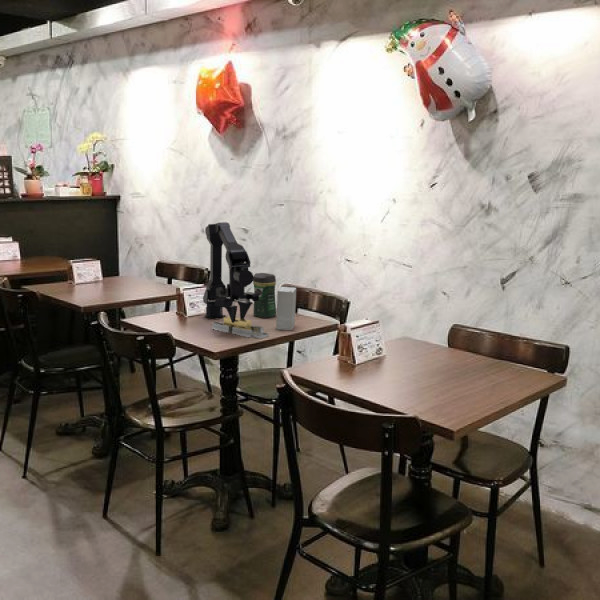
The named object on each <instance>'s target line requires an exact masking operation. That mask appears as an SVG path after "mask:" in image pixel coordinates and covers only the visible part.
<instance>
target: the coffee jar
mask: <svg viewBox="0 0 600 600" xmlns="http://www.w3.org/2000/svg"><path fill="white" fill-rule="evenodd" d="M253 277H254V278H253V281H252V284H253V291H254V292H253V293H257V294H258V295H259V301H253V316H254V317H258V318H264V319H265V318H266V319H267V318H269V319H272V318H273V317H275V316H277V303H276V284H277V281H276V275H275V274H273V273H268V272H267V273H266V272H258V273H255V274H253Z"/></svg>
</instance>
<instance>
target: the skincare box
mask: <svg viewBox="0 0 600 600" xmlns="http://www.w3.org/2000/svg"><path fill="white" fill-rule="evenodd" d="M276 300H277V301H276V319H275V320H276V322H275V323H276V326H275V329H276V330H280V331H281V330H282V331H292V330H293V328H294V327H295V322H296V307H297V306H296V303H297V287H290V286H280V287H279V289H277V297H276Z"/></svg>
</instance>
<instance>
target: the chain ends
mask: <svg viewBox="0 0 600 600" xmlns="http://www.w3.org/2000/svg"><path fill="white" fill-rule="evenodd" d="M213 329H214V330H213ZM212 330H213V331H217V330H219V331H218V332H221V331H223V333H226V332H227V333H226V334H230V333H229V332H231V334H232V335H235V334H236V335H235V336H239V335H240V337H243V336H245V337H244V338H248V337H250V338H254V337H256V338H255V339H258V338H259V340H260V338H261V339H264V338H268V337H269V336H270V335H269V334H270V333H268V332H264V327H263V326H260V325H254V324H251V330H249V329H245V328H240V327H236V326H235V327H232V326H231V325H226V324H224V323H221V322H217V321H215V322H212Z"/></svg>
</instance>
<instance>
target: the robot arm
mask: <svg viewBox="0 0 600 600" xmlns="http://www.w3.org/2000/svg"><path fill="white" fill-rule="evenodd" d="M204 233H205V235H206V240H207V242H209V245H210V249H209V250H210V251H209V252H210V256H209V259H210V262H209V263H210V265H209V267H210V269H209V270H210V271H209V272H210V273H209V274H210V275H209V280H208V281H207V283H206V285H205V286H206V287H205V289H204V293H203V296H202V301H203V304H205V305H206V307H205V310H206V311H205V315H204V318H209V319H214V320H216V319H219V318H224V317H226V315H225V314H223V309H226V311H227V313H228V316H230V319H231V321H232V323H234V322H235V318H237V312H238V307H239V318H241V319H245V317H246V315H247V313H248V312H249V309H250V307H252V304H253V305H254V301H259V295H258V294H257V293H254V292H251V291H247V292H245V289H246V288H247V287H248V286H249V285H251V284H253V278H254V274H253V272H251V271H250V270H249V268H251V260H250V259H251V258H250V257H249V254H248V252H247V250H246V249H245V248H244V246H243V245H242V244H239V243H238V241H237V239H236V238H235V236H234V233H233V232H232V230H231V225H230V223H229V222H226V221H225V222H223V221H222V222H217V223H208V225H207V226H205V231H204ZM223 245H224V248H225V250H226V252H225V261H226V263H227V265H228V271H229V273H228V274H229V275H228V276H229V277H228V278H229V279H228V281H229V282H228V283H227V284H226V285H225V283H224V282H223V280H222V279H223V278H222V276H223V275H222V274H223V273H222V271H223V270H222V269H223V268H222V267H223V266H222V265H223V263H222V262H223V260H222V259H223ZM236 303H237V304H238V305H236Z"/></svg>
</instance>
